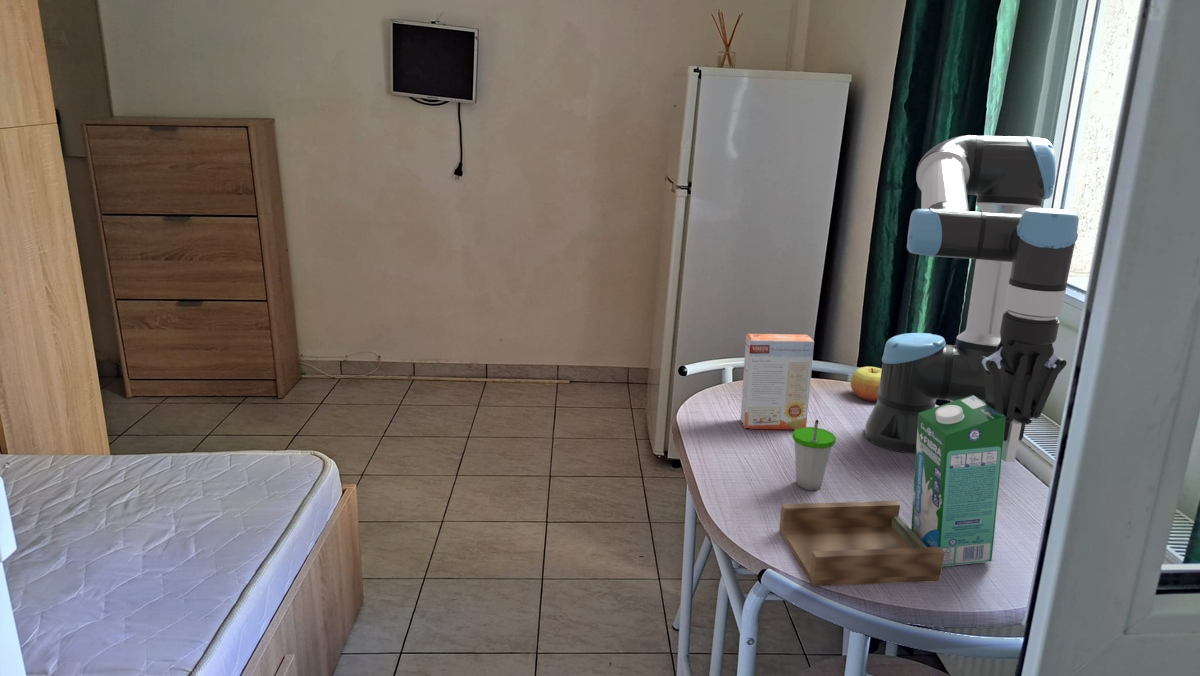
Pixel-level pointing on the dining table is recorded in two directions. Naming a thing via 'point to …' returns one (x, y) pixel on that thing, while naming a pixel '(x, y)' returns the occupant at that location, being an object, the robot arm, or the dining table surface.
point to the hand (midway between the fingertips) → (1004, 458)
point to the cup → (812, 455)
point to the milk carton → (958, 479)
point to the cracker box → (776, 381)
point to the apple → (866, 383)
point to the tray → (857, 544)
